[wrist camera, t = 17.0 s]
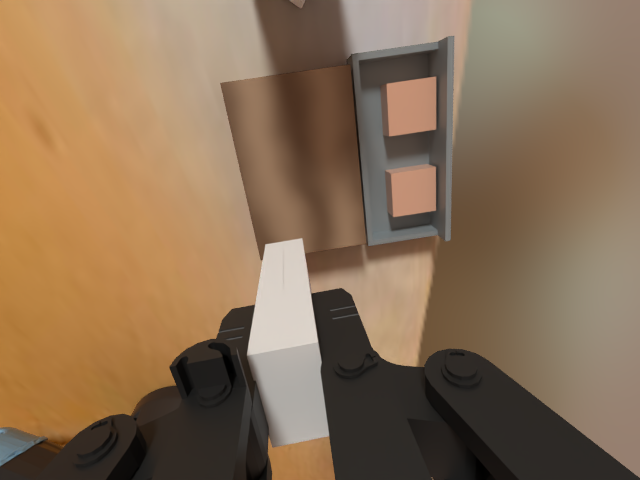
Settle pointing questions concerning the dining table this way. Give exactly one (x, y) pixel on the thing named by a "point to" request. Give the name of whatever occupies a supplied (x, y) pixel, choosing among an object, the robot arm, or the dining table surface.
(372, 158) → the tray
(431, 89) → the tile
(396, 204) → the tile
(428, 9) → the dining table surface
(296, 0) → the milk
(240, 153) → the brown flat block
